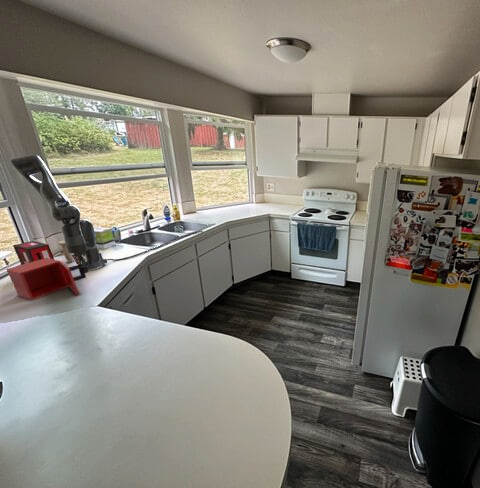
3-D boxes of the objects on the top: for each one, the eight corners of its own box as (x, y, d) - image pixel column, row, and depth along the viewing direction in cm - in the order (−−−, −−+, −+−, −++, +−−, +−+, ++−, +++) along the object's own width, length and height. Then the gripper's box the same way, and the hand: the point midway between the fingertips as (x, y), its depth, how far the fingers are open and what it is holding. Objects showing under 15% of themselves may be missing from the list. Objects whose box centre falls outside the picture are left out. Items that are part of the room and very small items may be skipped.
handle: (65, 264, 172) (57, 243, 167) (66, 261, 177) (59, 241, 171) (75, 262, 175) (67, 242, 170) (76, 259, 180) (69, 239, 174)
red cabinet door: (83, 282, 150) (74, 258, 144) (91, 290, 141) (83, 265, 136) (68, 286, 145) (59, 261, 139) (76, 295, 136) (67, 269, 131)
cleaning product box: (59, 273, 159) (48, 244, 152) (40, 279, 151) (28, 249, 144) (44, 269, 164) (33, 240, 157) (25, 275, 156) (12, 245, 149)
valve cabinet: (69, 286, 146) (59, 261, 140) (31, 300, 131) (19, 273, 126) (56, 282, 149) (46, 257, 144) (18, 295, 135) (6, 269, 129)
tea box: (88, 247, 201) (82, 230, 196) (101, 243, 210) (95, 226, 205) (104, 249, 199) (99, 231, 194) (116, 244, 208) (111, 227, 203)
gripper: (90, 243, 135) (99, 272, 140) (78, 239, 140) (87, 267, 146) (72, 247, 128) (82, 277, 134) (60, 242, 134) (70, 272, 140)
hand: (85, 272), depth 140 cm, fingers closed on red cabinet door, 2 cm apart
